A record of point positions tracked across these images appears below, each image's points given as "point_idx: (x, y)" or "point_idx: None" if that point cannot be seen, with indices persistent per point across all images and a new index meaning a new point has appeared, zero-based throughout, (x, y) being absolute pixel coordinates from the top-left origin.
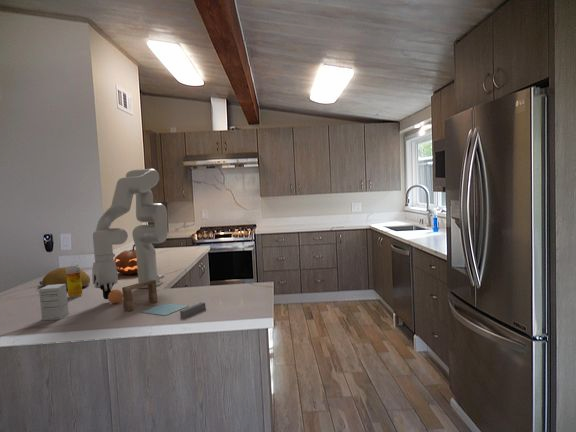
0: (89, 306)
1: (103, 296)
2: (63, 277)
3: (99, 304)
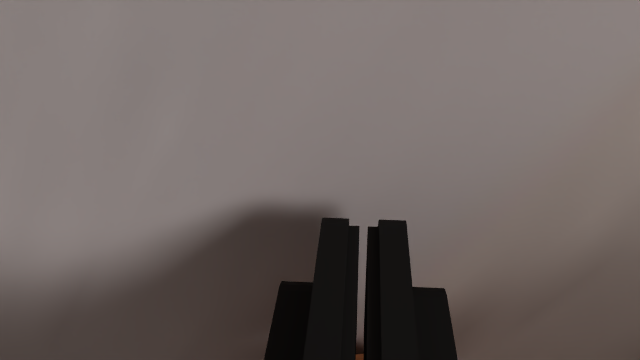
0: (26, 148)
1: (279, 299)
2: None
3: (199, 208)
